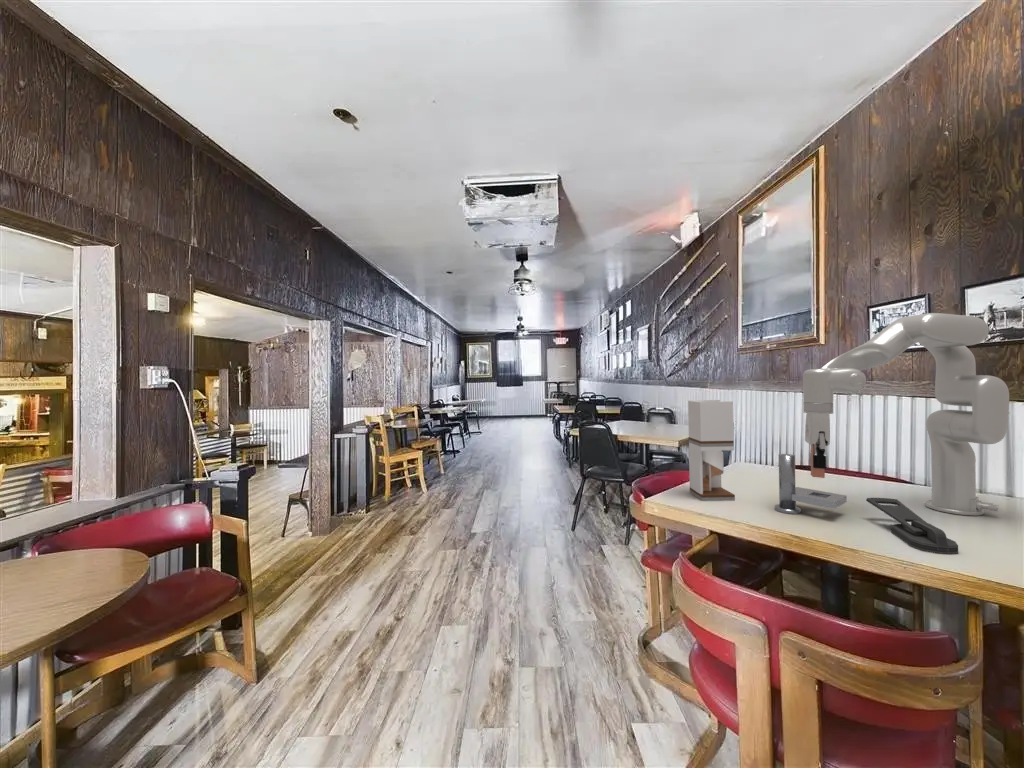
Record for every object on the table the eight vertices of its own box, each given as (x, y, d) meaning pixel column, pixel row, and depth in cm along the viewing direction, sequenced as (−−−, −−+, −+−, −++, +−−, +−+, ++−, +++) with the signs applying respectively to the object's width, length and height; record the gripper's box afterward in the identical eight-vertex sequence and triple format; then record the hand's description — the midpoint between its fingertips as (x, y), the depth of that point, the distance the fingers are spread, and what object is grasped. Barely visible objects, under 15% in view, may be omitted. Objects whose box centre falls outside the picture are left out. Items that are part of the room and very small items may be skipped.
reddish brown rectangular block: (810, 474, 129) (811, 443, 129) (822, 475, 128) (822, 444, 128) (812, 476, 126) (813, 445, 126) (824, 478, 125) (825, 445, 125)
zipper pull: (898, 498, 120) (966, 528, 96) (898, 520, 120) (966, 556, 96) (862, 496, 123) (919, 525, 99) (862, 518, 123) (920, 552, 99)
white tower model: (701, 500, 143) (700, 402, 143) (689, 492, 154) (688, 400, 154) (734, 500, 143) (733, 401, 142) (720, 492, 153) (718, 399, 153)
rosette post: (846, 514, 126) (845, 457, 126) (832, 524, 118) (831, 462, 118) (787, 502, 139) (786, 450, 139) (770, 510, 132) (769, 455, 132)
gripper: (798, 406, 136) (798, 461, 136) (808, 409, 121) (808, 471, 121) (826, 407, 132) (826, 463, 133) (840, 410, 118) (840, 473, 118)
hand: (818, 466), depth 127 cm, fingers closed on reddish brown rectangular block, 3 cm apart
